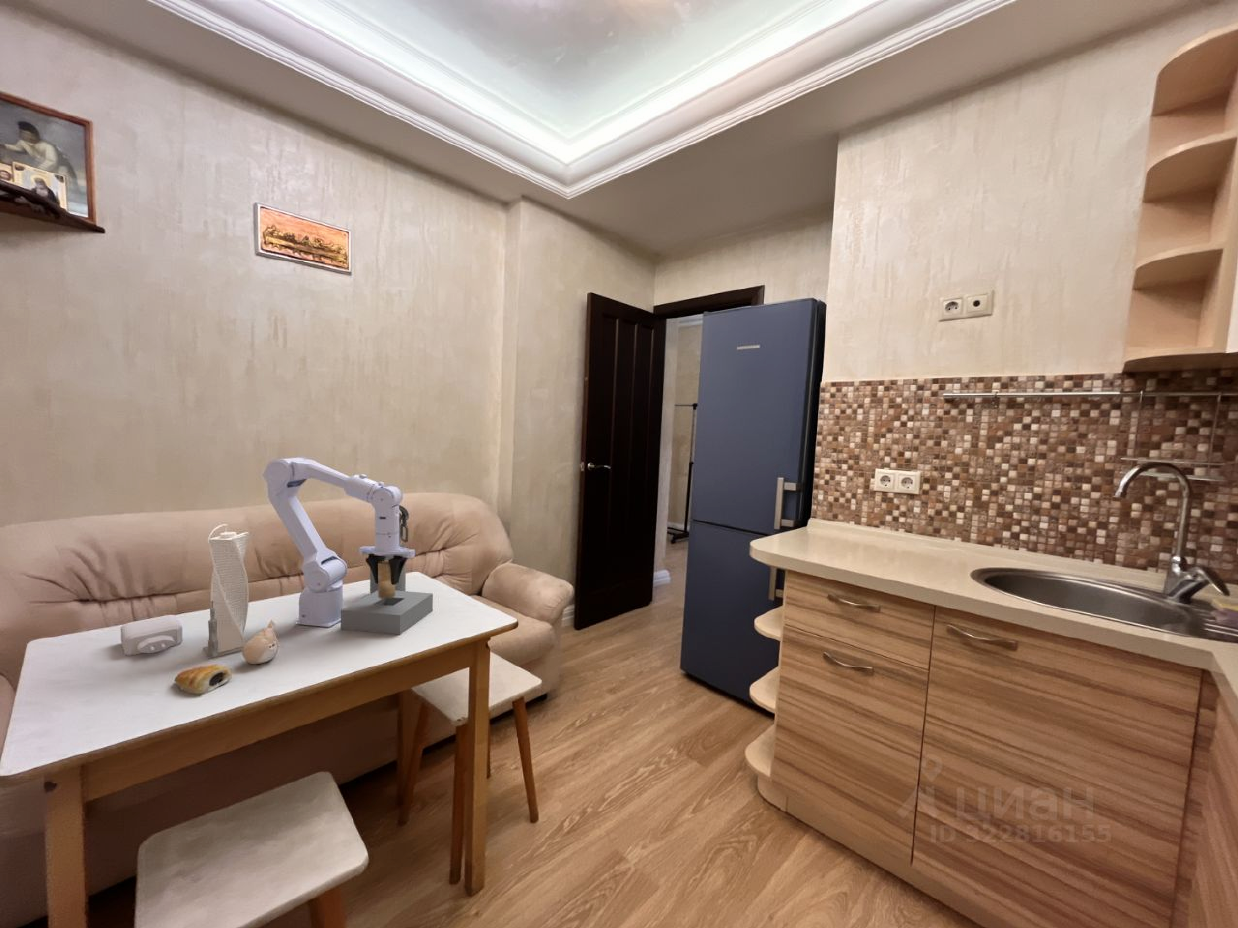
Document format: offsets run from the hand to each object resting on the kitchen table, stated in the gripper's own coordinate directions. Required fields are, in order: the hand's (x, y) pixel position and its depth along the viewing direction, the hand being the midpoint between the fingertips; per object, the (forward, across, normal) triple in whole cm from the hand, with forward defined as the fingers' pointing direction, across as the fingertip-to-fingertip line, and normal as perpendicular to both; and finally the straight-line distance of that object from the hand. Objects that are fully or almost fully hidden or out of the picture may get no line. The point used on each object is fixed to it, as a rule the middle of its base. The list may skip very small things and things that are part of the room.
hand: (387, 582), depth 124 cm
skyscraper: (+10, -25, -21) cm, 34 cm away
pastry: (+11, -16, -35) cm, 40 cm away
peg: (+3, 0, 0) cm, 4 cm away
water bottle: (+11, -11, +18) cm, 24 cm away
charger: (+11, -40, -24) cm, 48 cm away
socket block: (+10, 0, +1) cm, 10 cm away
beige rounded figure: (+11, -13, -25) cm, 30 cm away
